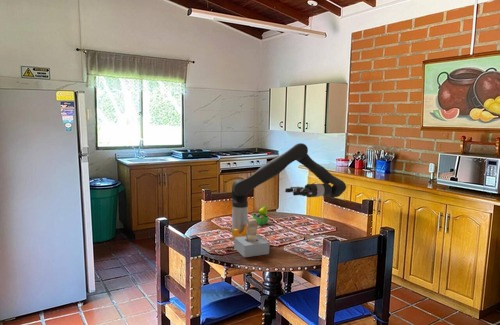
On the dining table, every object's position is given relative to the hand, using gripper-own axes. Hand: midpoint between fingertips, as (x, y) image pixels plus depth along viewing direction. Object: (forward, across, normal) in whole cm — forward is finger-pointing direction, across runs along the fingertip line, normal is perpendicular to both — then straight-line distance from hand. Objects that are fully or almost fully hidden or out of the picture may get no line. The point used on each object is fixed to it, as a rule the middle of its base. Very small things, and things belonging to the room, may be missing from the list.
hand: (289, 191), depth 197 cm
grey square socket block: (+23, +2, +30) cm, 38 cm away
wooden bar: (+23, +2, +29) cm, 37 cm away
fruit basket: (-5, -45, +30) cm, 54 cm away
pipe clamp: (+20, -19, +30) cm, 41 cm away
